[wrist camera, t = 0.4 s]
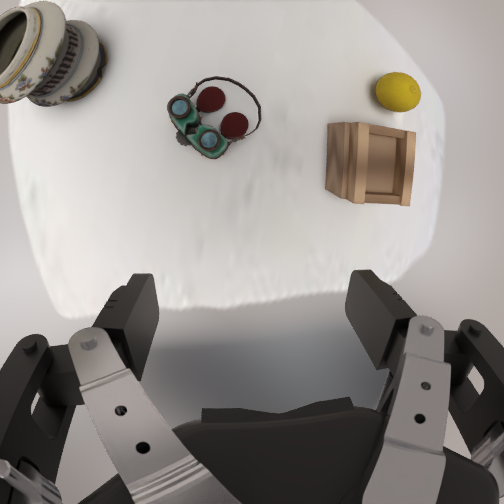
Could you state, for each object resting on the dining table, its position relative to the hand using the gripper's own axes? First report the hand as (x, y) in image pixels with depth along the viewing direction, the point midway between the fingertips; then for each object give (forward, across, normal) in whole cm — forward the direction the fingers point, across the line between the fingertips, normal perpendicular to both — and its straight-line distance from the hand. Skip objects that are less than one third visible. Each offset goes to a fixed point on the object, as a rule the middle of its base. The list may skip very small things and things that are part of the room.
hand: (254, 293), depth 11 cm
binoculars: (+28, +3, -8) cm, 29 cm away
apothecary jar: (+28, +23, -18) cm, 40 cm away
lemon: (+28, -20, -14) cm, 37 cm away
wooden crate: (+27, -16, -4) cm, 32 cm away
